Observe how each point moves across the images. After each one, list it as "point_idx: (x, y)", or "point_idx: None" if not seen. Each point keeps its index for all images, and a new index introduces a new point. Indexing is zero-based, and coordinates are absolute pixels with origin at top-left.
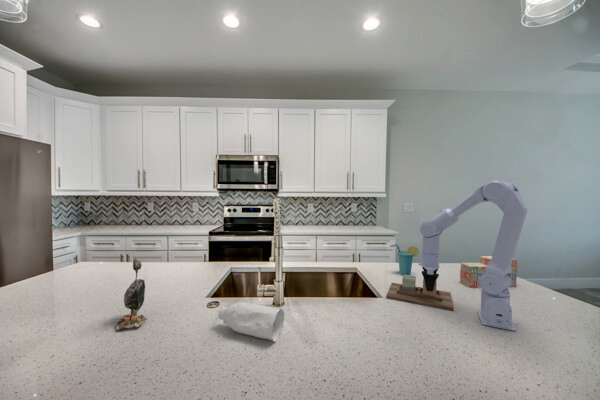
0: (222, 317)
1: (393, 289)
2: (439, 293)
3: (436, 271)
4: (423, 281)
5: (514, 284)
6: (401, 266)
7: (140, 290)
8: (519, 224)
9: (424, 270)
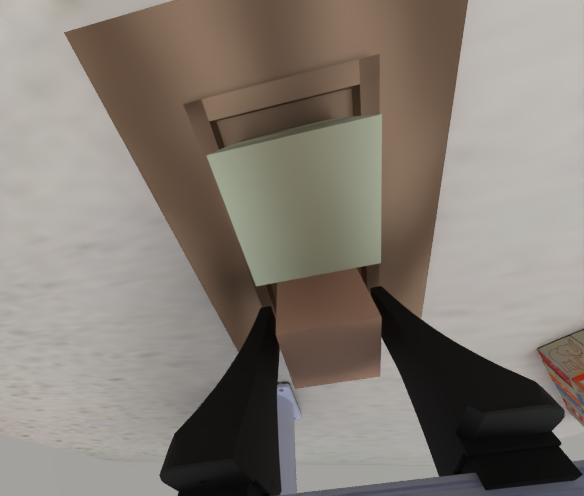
0: None
1: (268, 35)
2: None
3: (429, 444)
4: (277, 332)
5: (578, 420)
6: None
7: None
8: None
9: (440, 384)
